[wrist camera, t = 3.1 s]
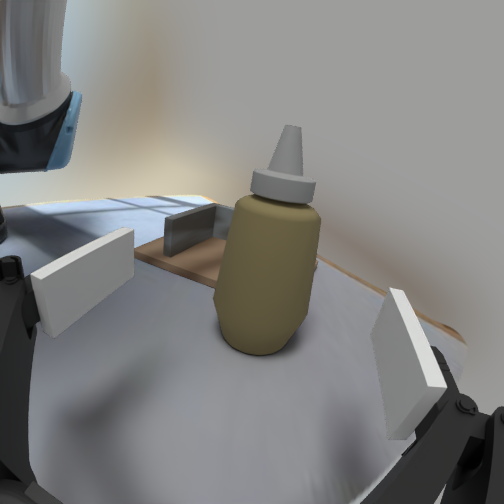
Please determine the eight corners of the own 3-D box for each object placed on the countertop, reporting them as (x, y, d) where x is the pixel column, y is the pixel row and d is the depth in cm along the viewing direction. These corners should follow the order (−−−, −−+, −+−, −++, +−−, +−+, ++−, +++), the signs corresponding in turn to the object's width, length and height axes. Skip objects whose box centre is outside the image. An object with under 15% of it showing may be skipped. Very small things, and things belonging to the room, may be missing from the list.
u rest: (131, 256, 37) (132, 213, 35) (191, 230, 50) (195, 196, 48) (291, 314, 30) (304, 262, 28) (316, 266, 43) (326, 229, 41)
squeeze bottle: (247, 302, 31) (276, 128, 25) (312, 336, 27) (362, 143, 20) (191, 331, 25) (213, 113, 18) (263, 380, 21) (320, 124, 14)
